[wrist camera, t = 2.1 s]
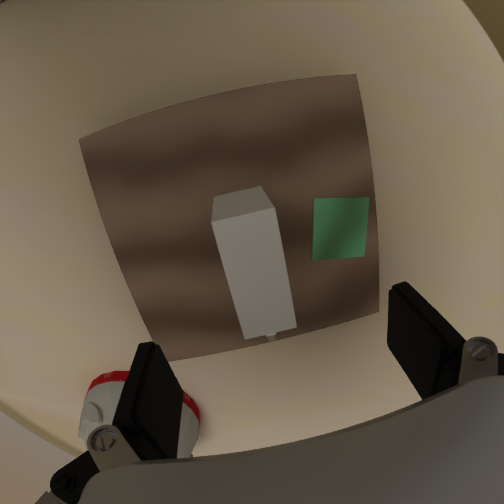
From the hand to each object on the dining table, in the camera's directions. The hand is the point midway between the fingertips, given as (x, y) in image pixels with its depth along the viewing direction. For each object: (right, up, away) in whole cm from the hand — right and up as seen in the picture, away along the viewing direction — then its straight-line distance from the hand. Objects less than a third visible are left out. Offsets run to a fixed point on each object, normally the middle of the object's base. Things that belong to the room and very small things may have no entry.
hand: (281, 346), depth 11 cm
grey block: (-1, +2, +11) cm, 11 cm away
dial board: (-2, +6, +12) cm, 14 cm away
